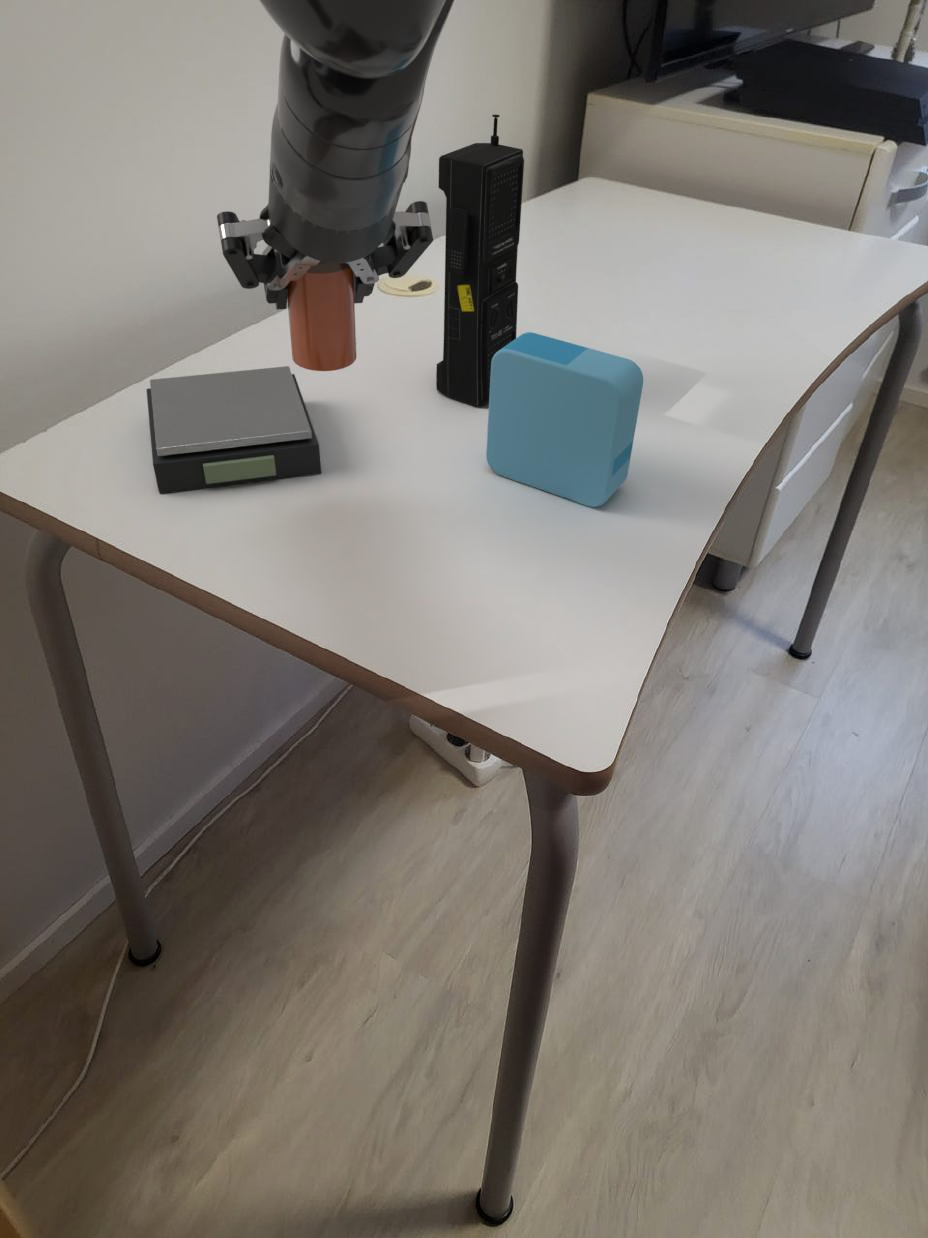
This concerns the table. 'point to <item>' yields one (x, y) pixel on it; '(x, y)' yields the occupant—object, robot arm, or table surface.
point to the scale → (234, 461)
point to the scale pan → (227, 411)
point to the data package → (562, 417)
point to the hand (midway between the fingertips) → (317, 293)
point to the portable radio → (479, 263)
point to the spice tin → (323, 318)
